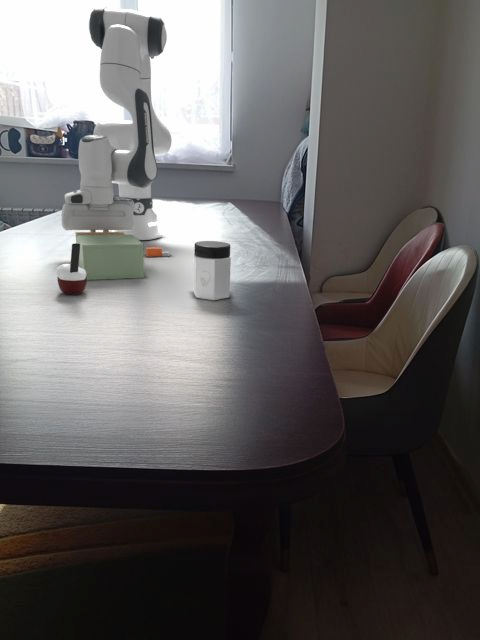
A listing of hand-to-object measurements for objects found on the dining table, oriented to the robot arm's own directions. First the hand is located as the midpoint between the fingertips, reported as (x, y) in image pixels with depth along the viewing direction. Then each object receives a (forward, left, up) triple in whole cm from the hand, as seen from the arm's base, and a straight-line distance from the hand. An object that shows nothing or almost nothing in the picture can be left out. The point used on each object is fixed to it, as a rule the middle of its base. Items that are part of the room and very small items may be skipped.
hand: (100, 245), depth 151 cm
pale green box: (+20, 0, -4) cm, 20 cm away
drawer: (+7, 0, -3) cm, 7 cm away
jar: (+47, +19, -4) cm, 51 cm away
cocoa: (+39, -11, -4) cm, 40 cm away
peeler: (0, +17, -4) cm, 17 cm away
